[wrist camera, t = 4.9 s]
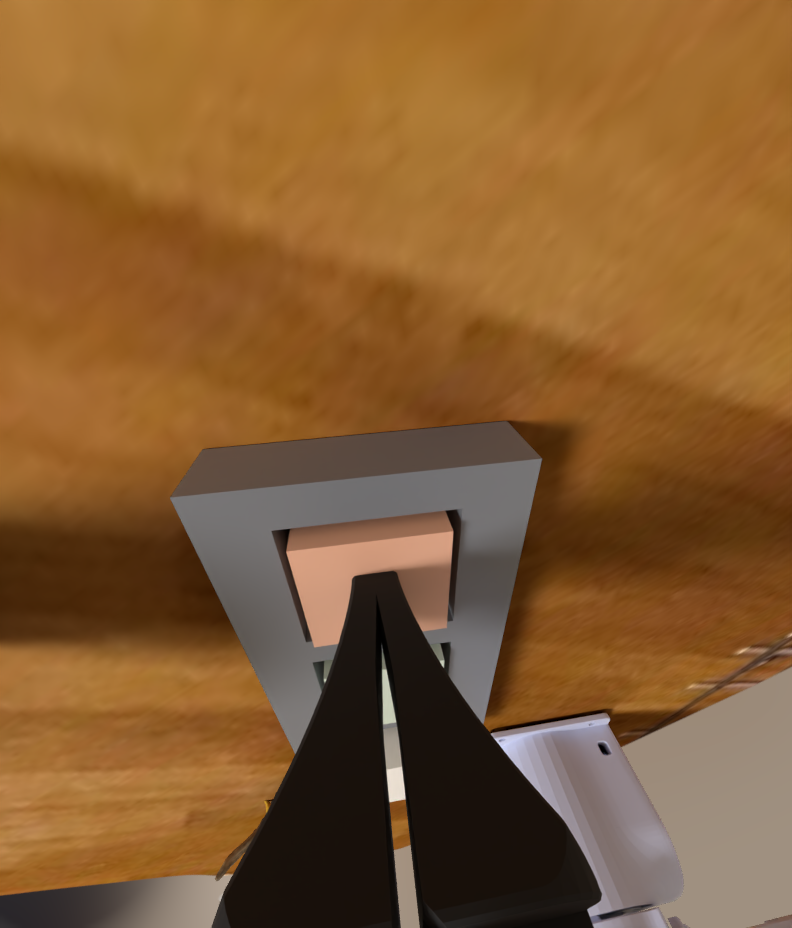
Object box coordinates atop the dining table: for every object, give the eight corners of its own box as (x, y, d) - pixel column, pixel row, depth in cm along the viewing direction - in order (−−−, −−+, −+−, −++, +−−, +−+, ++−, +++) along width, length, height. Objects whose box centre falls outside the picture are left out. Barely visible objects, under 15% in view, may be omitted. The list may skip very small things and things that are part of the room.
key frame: (506, 421, 12) (542, 458, 10) (463, 718, 24) (474, 763, 22) (202, 449, 11) (169, 497, 9) (316, 743, 23) (314, 792, 21)
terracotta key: (433, 480, 12) (453, 531, 10) (431, 571, 15) (446, 628, 13) (296, 495, 12) (286, 551, 10) (318, 586, 14) (314, 647, 12)
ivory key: (432, 700, 19) (444, 759, 17) (430, 737, 22) (441, 792, 19) (344, 714, 19) (344, 777, 16) (353, 750, 21) (355, 808, 19)
